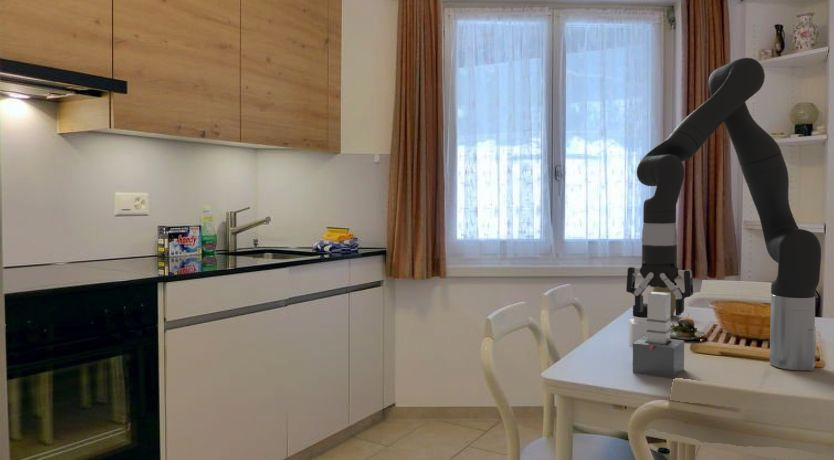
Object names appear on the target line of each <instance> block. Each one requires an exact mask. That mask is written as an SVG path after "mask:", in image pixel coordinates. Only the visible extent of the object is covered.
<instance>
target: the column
mask: <svg viewBox="0 0 834 460" xmlns="http://www.w3.org/2000/svg"><path fill="white" fill-rule="evenodd" d="M670 299H671V293H663V292H653V291H651V292H649V293H647V303H648V312H647V343H652V344H660V345H668V344H670V339H671V337H670V331H671V329H672V328H670V326H671V320H672V317H671V316H670Z"/></svg>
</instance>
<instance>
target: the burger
mask: <svg viewBox="0 0 834 460" xmlns="http://www.w3.org/2000/svg"><path fill="white" fill-rule="evenodd" d="M671 324H672V325H670V329H671V331H670V338H671V339H676V340H698V341H699V340H700V339H704V340H705V338H706V333H705V332H704V331H700V330H698V328H697V327H695V322H694V320H693V319H691V318H689V314H688V316H687V317H682V318H680V319H678V322H677V325H675V324H674V323H671ZM700 336H701V337H700ZM706 339H707V338H706Z"/></svg>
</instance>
